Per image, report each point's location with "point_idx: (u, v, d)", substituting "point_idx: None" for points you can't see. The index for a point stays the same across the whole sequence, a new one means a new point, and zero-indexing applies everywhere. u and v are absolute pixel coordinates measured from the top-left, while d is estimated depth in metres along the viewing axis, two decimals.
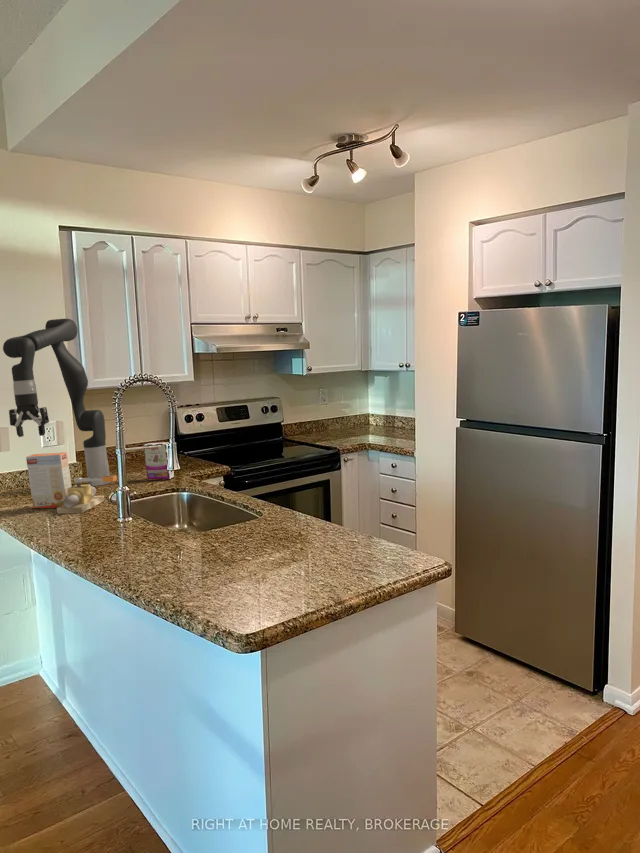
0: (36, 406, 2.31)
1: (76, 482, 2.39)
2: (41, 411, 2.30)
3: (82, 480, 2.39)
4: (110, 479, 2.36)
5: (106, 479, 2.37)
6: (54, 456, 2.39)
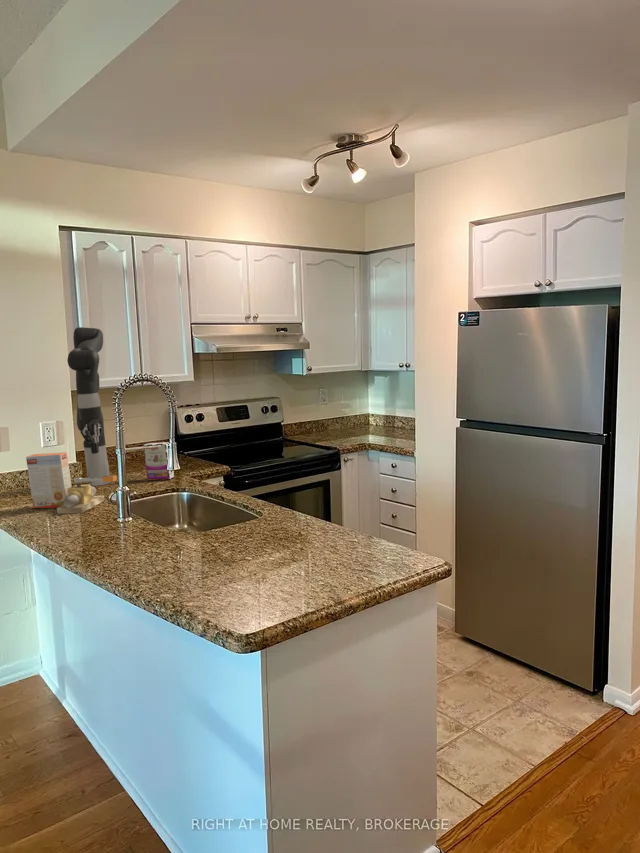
0: (85, 422, 2.23)
1: (76, 482, 2.39)
2: None
3: (82, 480, 2.39)
4: (110, 479, 2.36)
5: (106, 479, 2.37)
6: (54, 456, 2.39)
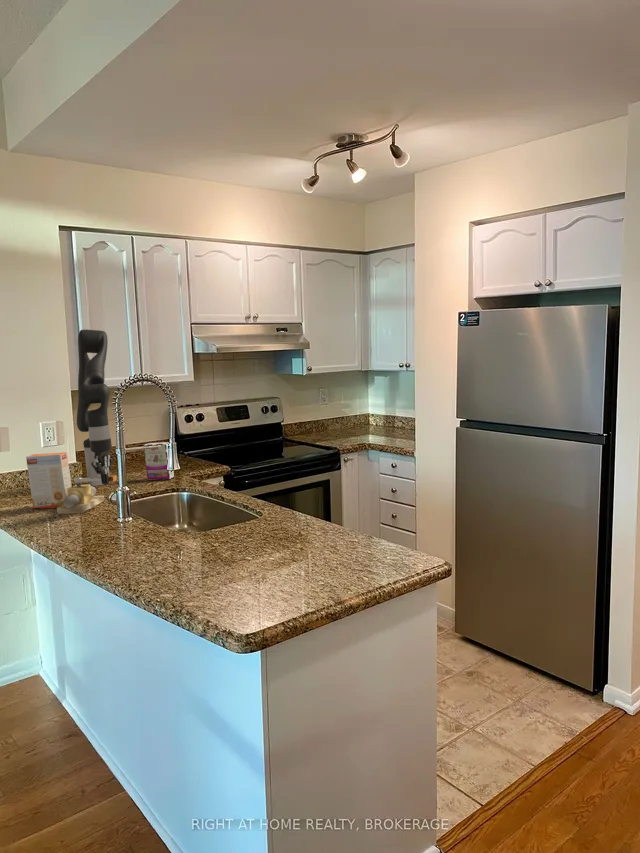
0: (96, 454, 2.30)
1: (76, 482, 2.39)
2: None
3: (82, 480, 2.39)
4: (110, 479, 2.36)
5: None
6: (54, 456, 2.39)
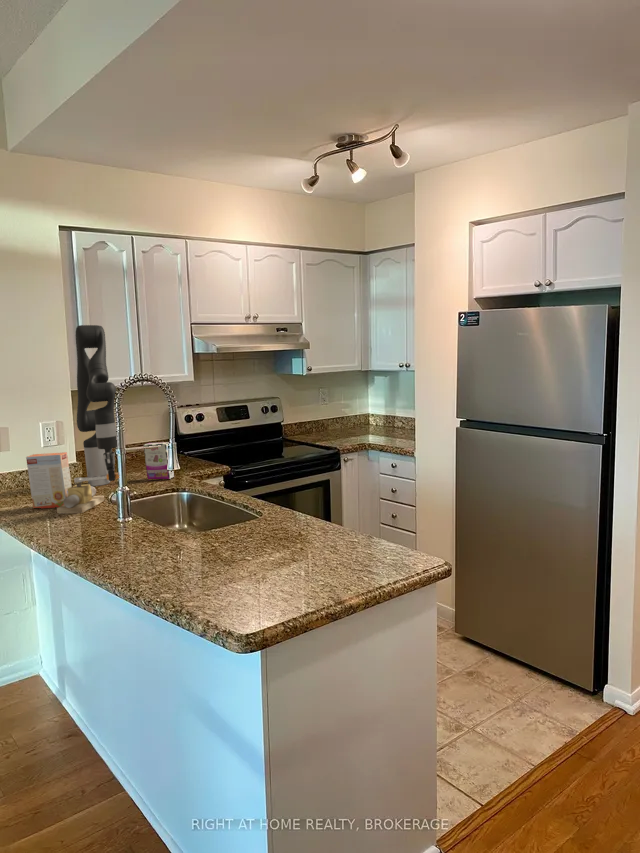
0: (107, 450, 2.34)
1: (77, 482, 2.39)
2: None
3: (84, 479, 2.39)
4: (115, 476, 2.41)
5: None
6: (54, 456, 2.39)
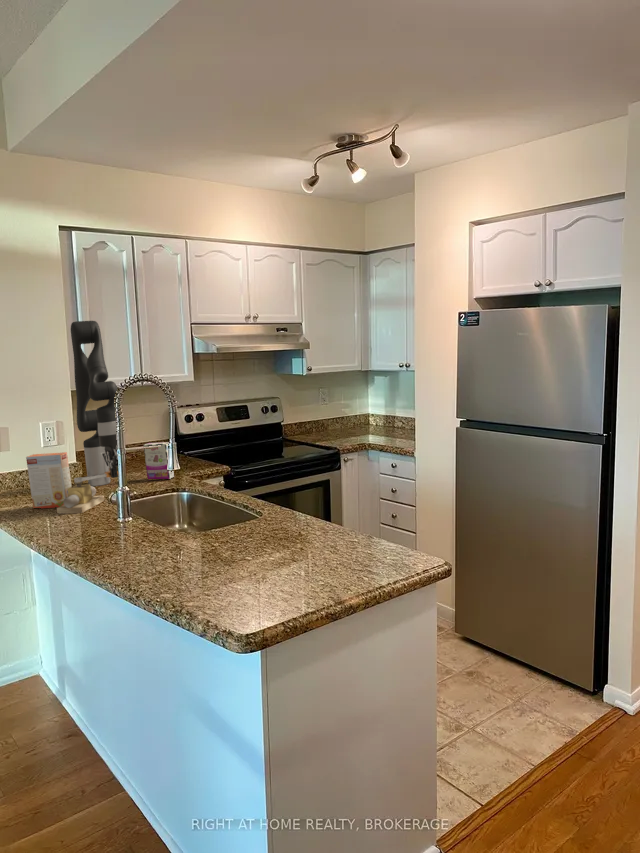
0: (114, 447, 2.41)
1: (79, 482, 2.39)
2: (113, 457, 2.39)
3: (84, 479, 2.40)
4: None
5: None
6: (54, 456, 2.39)
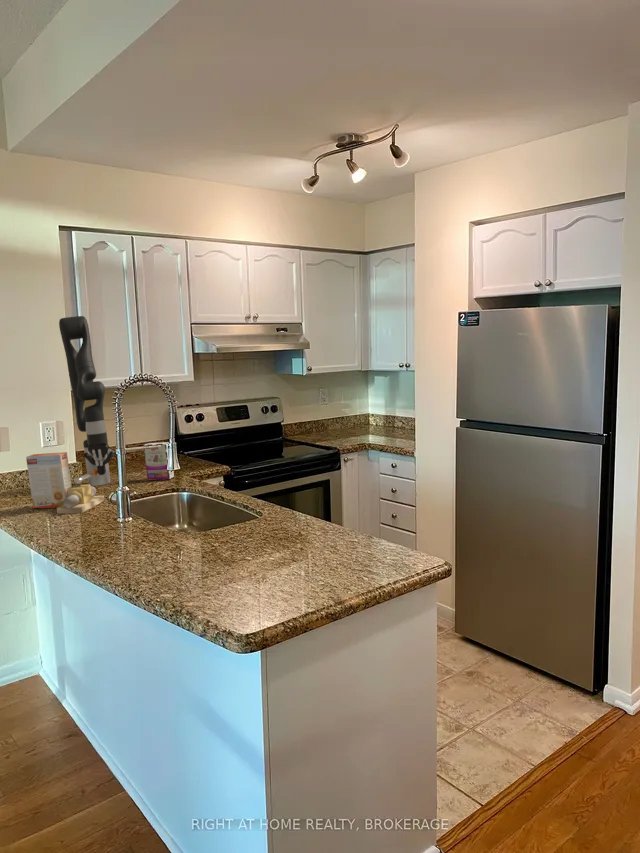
0: (106, 444, 2.50)
1: (81, 481, 2.40)
2: (110, 454, 2.49)
3: (83, 478, 2.42)
4: None
5: (97, 472, 2.52)
6: (54, 456, 2.39)
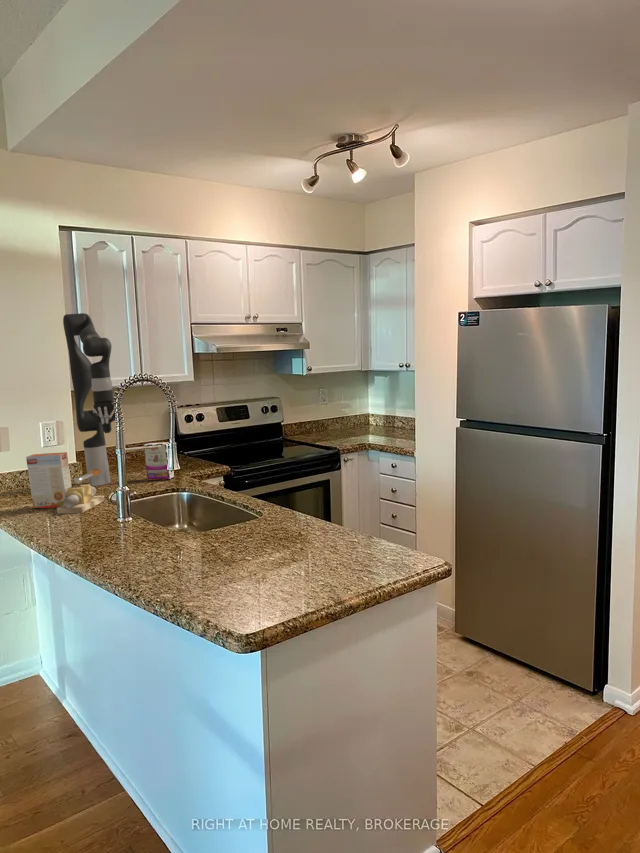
0: (112, 402, 2.47)
1: (81, 481, 2.40)
2: None
3: (83, 478, 2.42)
4: (99, 472, 2.53)
5: (97, 472, 2.52)
6: (54, 456, 2.39)
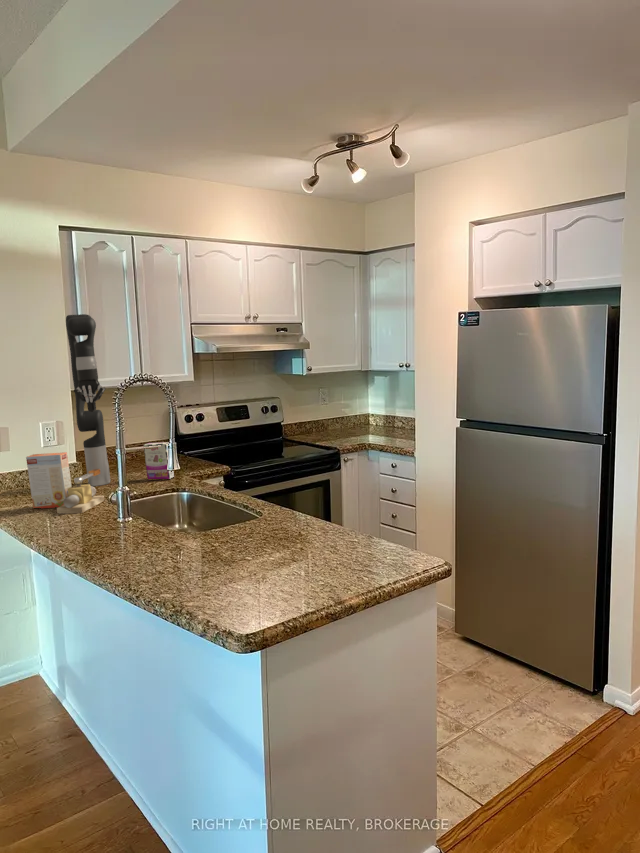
0: (97, 381, 2.49)
1: (81, 481, 2.40)
2: (100, 390, 2.48)
3: (83, 478, 2.42)
4: (99, 472, 2.53)
5: (97, 472, 2.52)
6: (54, 456, 2.39)
